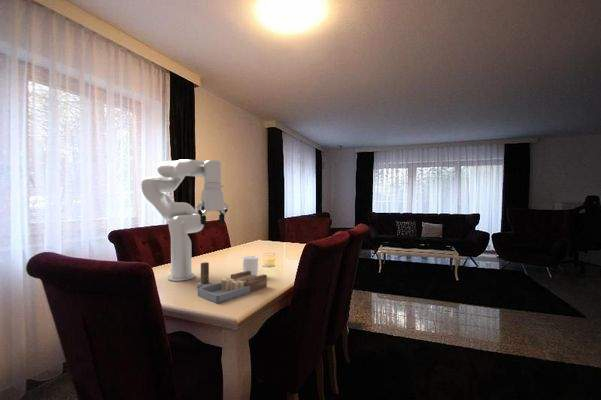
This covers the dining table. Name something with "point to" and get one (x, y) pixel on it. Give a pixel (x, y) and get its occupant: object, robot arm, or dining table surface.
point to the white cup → (250, 264)
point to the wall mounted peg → (204, 276)
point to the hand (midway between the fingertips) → (212, 223)
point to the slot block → (251, 280)
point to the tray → (221, 293)
